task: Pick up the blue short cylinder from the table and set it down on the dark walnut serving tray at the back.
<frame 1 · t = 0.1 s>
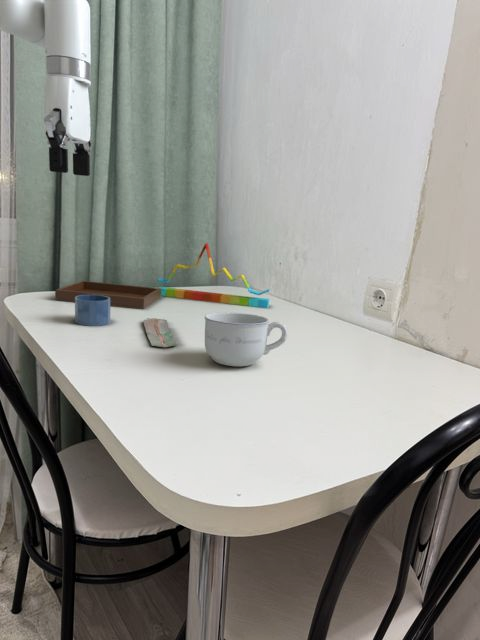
hand: (70, 173, 96), 29 cm above the table, tool pointing down, fingers open, 9 cm apart
tray: (111, 298, 127), on the table
chart: (212, 301, 137), on the table
blue short cylinder: (92, 321, 104), on the table
teacup: (242, 364, 86), on the table
map: (159, 334, 99), on the table
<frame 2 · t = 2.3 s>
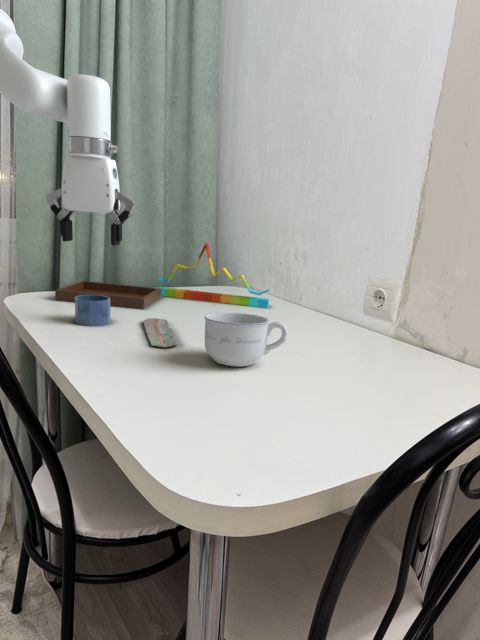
hand: (91, 242, 99), 16 cm above the table, tool pointing down, fingers open, 9 cm apart
nothing on the table moved.
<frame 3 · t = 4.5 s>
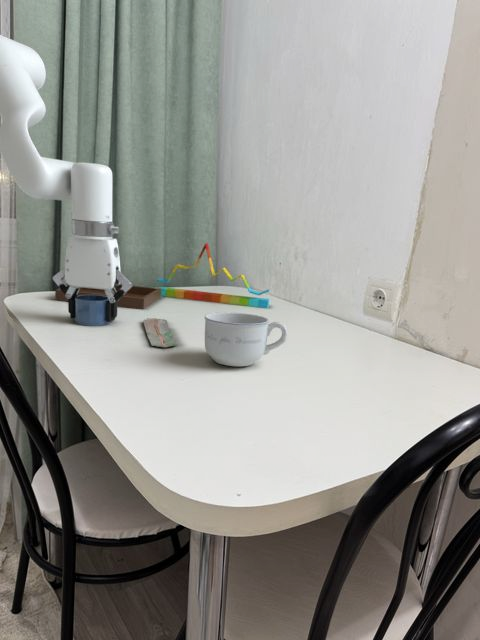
hand: (92, 318, 104), 1 cm above the table, tool pointing down, fingers closed on blue short cylinder, 6 cm apart
blue short cylinder: (92, 321, 104), on the table, touching gripper
everything else where it was.
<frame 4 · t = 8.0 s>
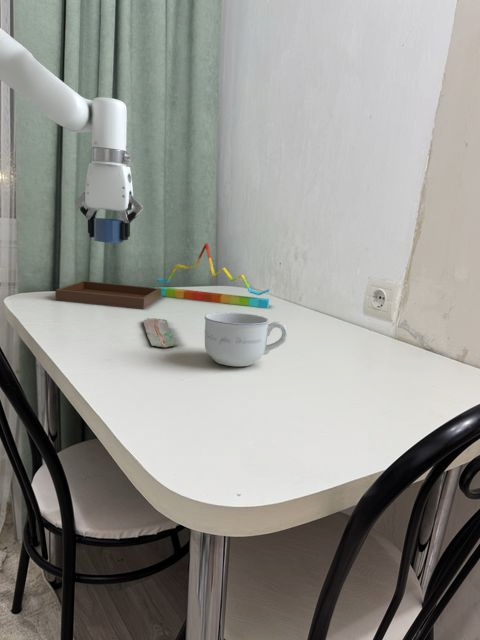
hand: (108, 237, 120), 15 cm above the table, tool pointing down, fingers closed on blue short cylinder, 6 cm apart
blue short cylinder: (108, 241, 120), point 15 cm above the table, touching gripper
everything else where it was.
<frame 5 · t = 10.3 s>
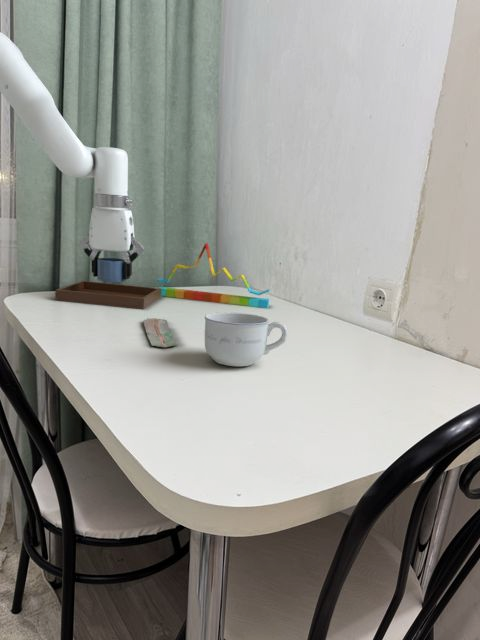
hand: (111, 276, 126), 6 cm above the table, tool pointing down, fingers closed on blue short cylinder, 6 cm apart
blue short cylinder: (111, 279, 126), point 5 cm above the table, touching gripper
everything else where it was.
when the fingers open (1 cm above the table, at t = 11.9 s): blue short cylinder stays where it is, resting on tray.
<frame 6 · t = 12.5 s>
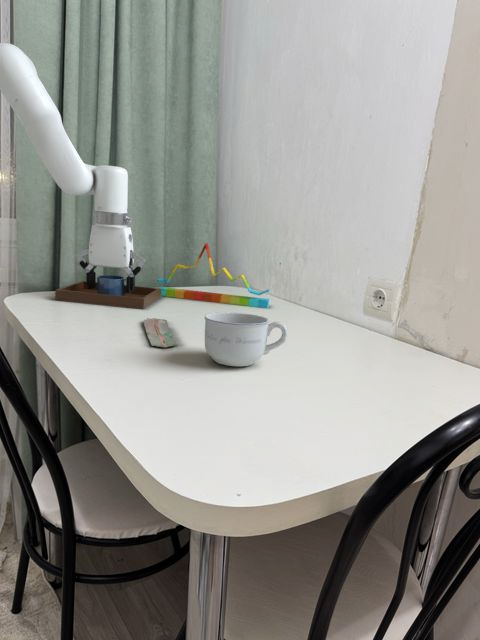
hand: (110, 290, 127), 2 cm above the table, tool pointing down, fingers open, 9 cm apart
blue short cylinder: (111, 297, 127), resting on tray
everything else where it was.
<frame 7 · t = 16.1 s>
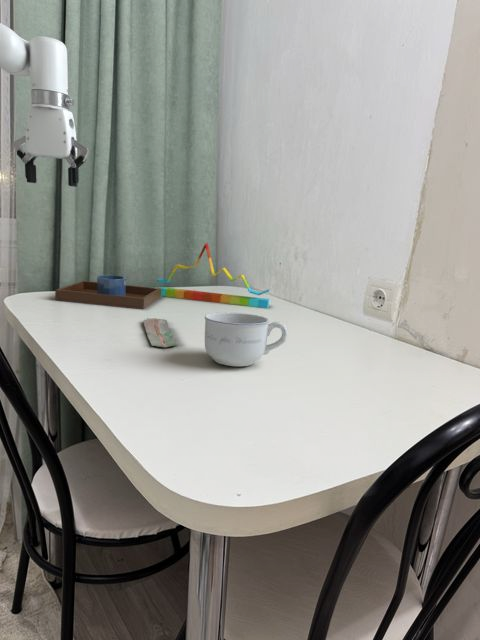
hand: (52, 184, 116), 26 cm above the table, tool pointing down, fingers open, 9 cm apart
nothing on the table moved.
at the end: blue short cylinder inside the target area in the tray (0.1 cm from its centre), point 0.5 cm above the tray's base; blue short cylinder tilted 0°; the gripper is holding nothing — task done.
